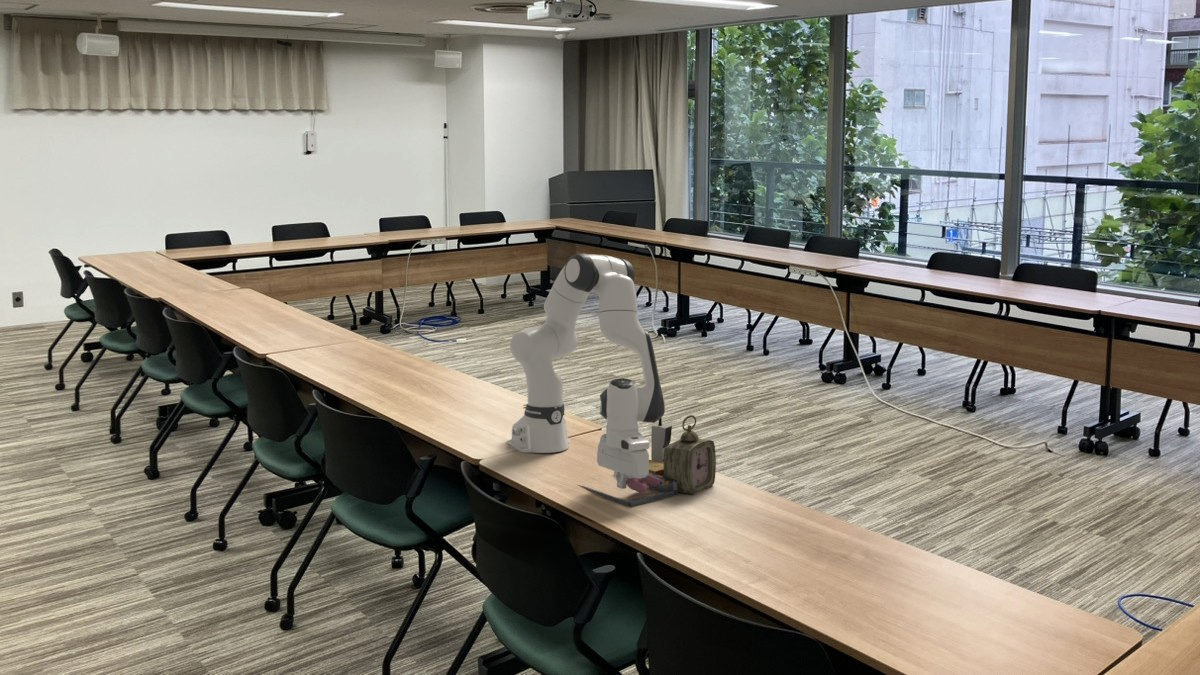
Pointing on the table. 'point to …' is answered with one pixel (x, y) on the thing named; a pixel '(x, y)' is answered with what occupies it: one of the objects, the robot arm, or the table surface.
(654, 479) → the purple lumpy piece
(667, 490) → the dock panel
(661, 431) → the vintage mobile phone
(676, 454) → the tabletop clock
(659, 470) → the carton
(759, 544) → the table surface
